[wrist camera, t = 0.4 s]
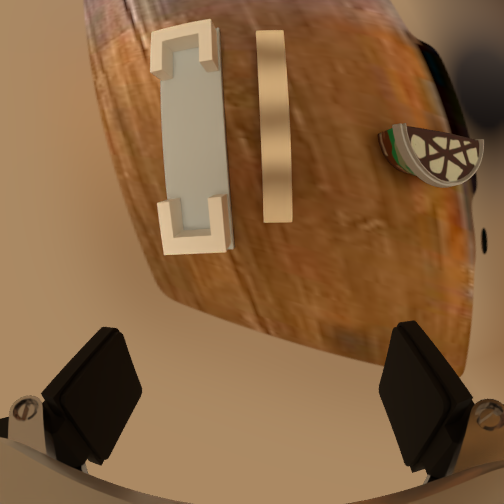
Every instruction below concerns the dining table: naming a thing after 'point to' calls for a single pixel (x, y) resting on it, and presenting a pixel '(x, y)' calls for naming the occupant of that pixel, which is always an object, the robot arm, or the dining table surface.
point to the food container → (432, 154)
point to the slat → (274, 126)
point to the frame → (193, 139)
